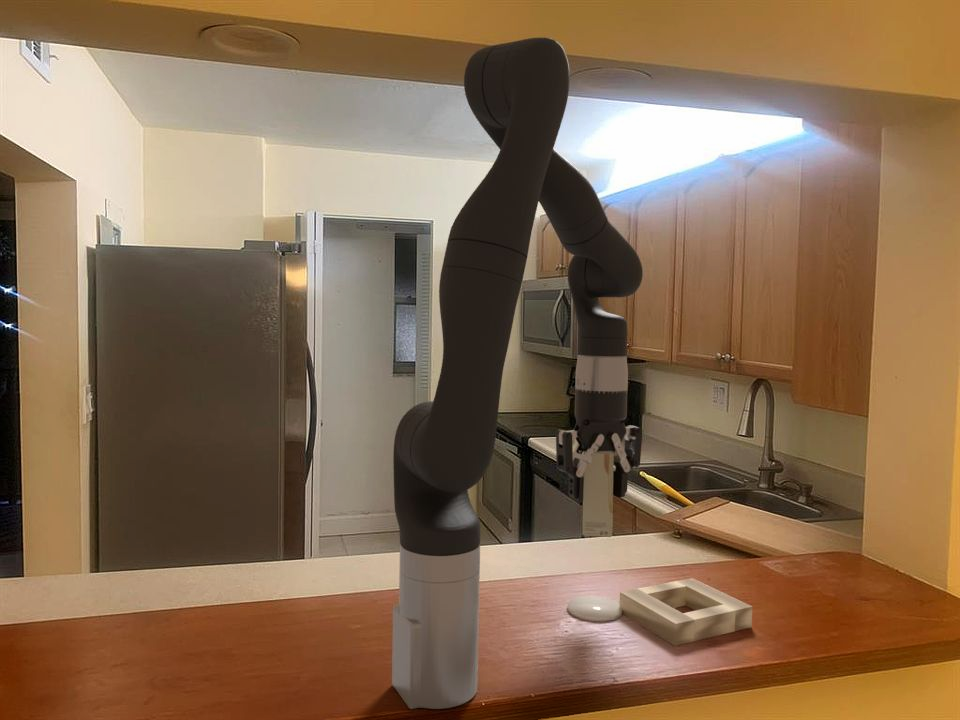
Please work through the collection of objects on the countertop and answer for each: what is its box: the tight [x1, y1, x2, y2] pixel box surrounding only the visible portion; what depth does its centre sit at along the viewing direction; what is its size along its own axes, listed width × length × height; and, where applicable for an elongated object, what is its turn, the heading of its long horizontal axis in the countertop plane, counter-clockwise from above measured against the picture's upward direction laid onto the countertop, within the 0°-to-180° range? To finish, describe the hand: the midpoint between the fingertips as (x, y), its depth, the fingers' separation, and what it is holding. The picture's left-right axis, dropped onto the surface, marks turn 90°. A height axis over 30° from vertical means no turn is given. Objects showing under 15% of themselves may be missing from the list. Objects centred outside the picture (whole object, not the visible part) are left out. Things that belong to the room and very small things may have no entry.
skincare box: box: [581, 451, 614, 538], centre depth 105 cm, size 6×4×12 cm
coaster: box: [567, 595, 623, 623], centre depth 106 cm, size 8×8×1 cm
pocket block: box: [619, 577, 753, 647], centre depth 103 cm, size 14×12×3 cm
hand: (598, 498), depth 105 cm, fingers closed on skincare box, 7 cm apart
